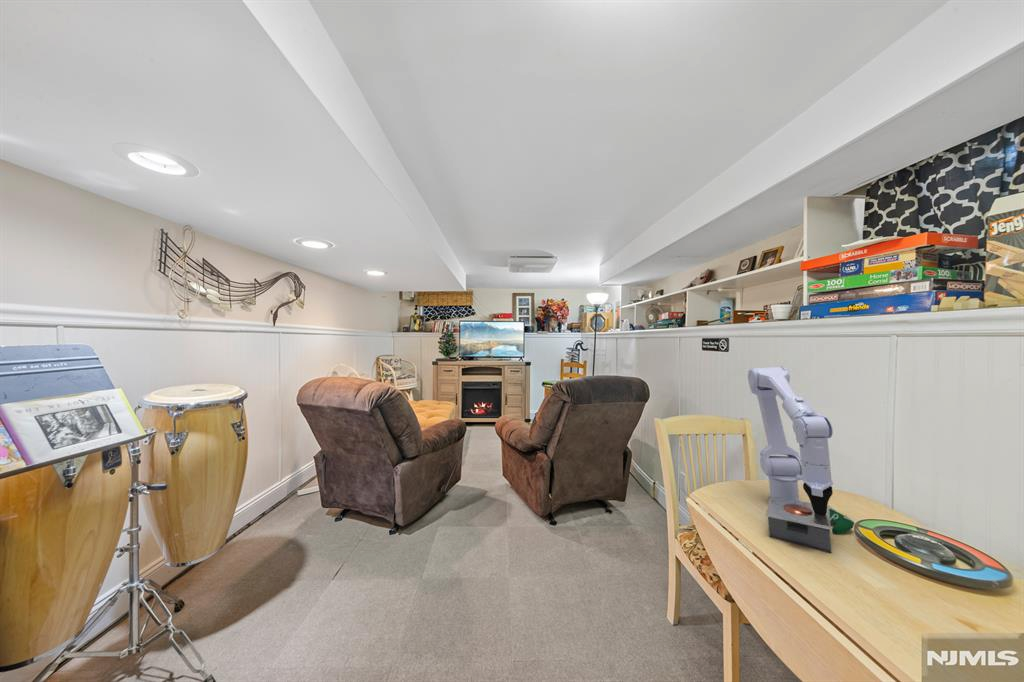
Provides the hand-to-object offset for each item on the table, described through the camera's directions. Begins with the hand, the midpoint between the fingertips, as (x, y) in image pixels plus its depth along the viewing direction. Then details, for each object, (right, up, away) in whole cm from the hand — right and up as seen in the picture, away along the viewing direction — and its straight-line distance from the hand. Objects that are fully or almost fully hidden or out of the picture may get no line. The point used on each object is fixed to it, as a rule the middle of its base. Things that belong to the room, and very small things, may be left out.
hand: (820, 513), depth 86 cm
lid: (-3, -1, +3) cm, 5 cm away
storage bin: (-3, -7, +3) cm, 8 cm away
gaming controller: (+9, -7, +6) cm, 13 cm away
